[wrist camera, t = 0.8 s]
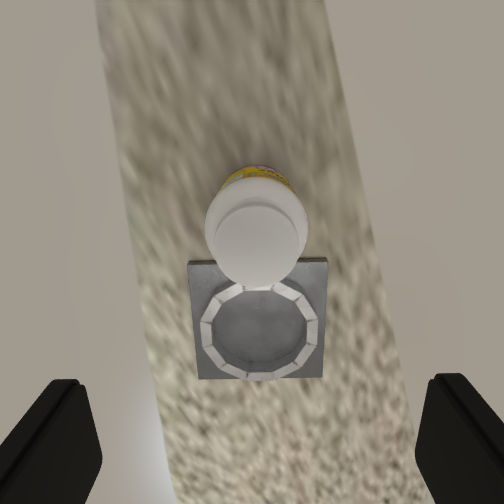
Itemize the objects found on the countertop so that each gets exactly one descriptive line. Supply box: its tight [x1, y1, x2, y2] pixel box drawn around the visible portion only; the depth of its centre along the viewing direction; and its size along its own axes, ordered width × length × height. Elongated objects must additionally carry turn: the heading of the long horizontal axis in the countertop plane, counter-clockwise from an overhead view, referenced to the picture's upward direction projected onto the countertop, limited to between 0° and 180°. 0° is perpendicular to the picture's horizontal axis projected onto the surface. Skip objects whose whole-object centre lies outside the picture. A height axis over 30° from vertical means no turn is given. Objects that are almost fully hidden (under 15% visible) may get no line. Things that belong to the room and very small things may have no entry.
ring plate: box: [187, 258, 328, 381], centre depth 33 cm, size 13×13×2 cm
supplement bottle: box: [204, 166, 308, 288], centre depth 24 cm, size 7×7×13 cm
